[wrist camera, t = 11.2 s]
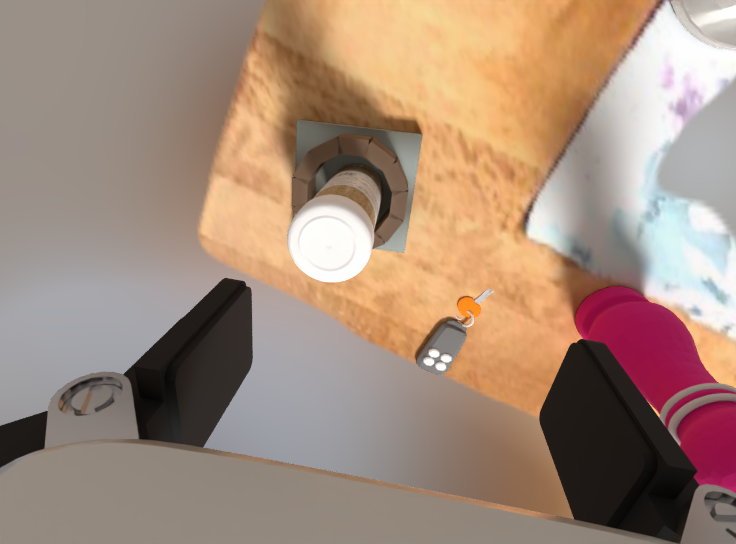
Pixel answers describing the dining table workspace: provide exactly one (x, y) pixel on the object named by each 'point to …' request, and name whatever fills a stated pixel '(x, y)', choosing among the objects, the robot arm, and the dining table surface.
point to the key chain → (449, 338)
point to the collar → (368, 147)
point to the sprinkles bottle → (337, 225)
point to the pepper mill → (668, 377)
